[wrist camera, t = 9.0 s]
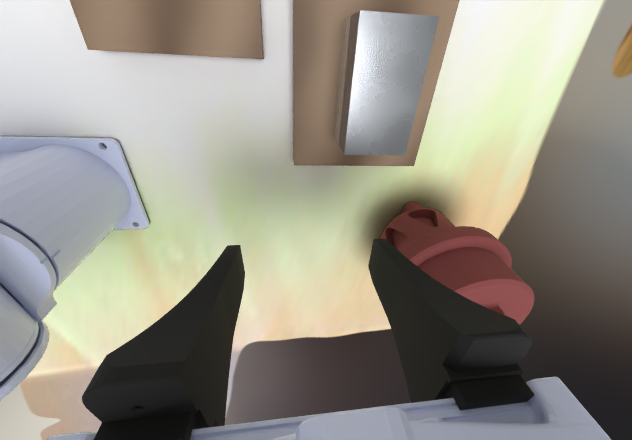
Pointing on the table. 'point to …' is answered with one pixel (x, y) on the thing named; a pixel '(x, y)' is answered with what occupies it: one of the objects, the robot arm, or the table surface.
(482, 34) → the table surface
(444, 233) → the mechanical component
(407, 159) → the stand
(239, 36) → the stand
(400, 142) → the block
